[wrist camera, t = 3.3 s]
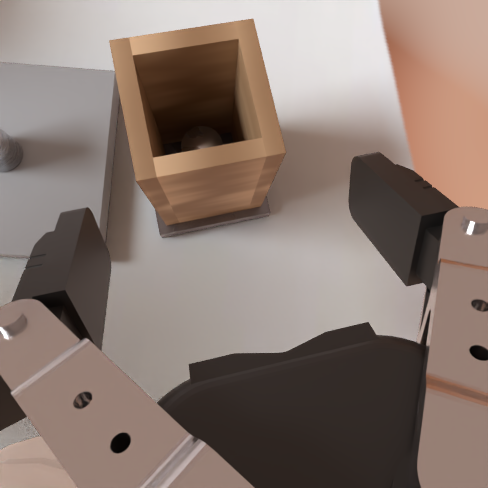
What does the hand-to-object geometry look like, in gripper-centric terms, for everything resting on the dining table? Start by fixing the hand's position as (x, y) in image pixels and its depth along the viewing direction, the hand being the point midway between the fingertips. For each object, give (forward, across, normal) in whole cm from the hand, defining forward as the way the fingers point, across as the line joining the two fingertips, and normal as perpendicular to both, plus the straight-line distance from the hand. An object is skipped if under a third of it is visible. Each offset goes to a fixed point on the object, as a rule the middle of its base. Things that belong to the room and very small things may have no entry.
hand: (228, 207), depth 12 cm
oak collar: (+12, 0, +5) cm, 13 cm away
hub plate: (+15, +12, +3) cm, 19 cm away
